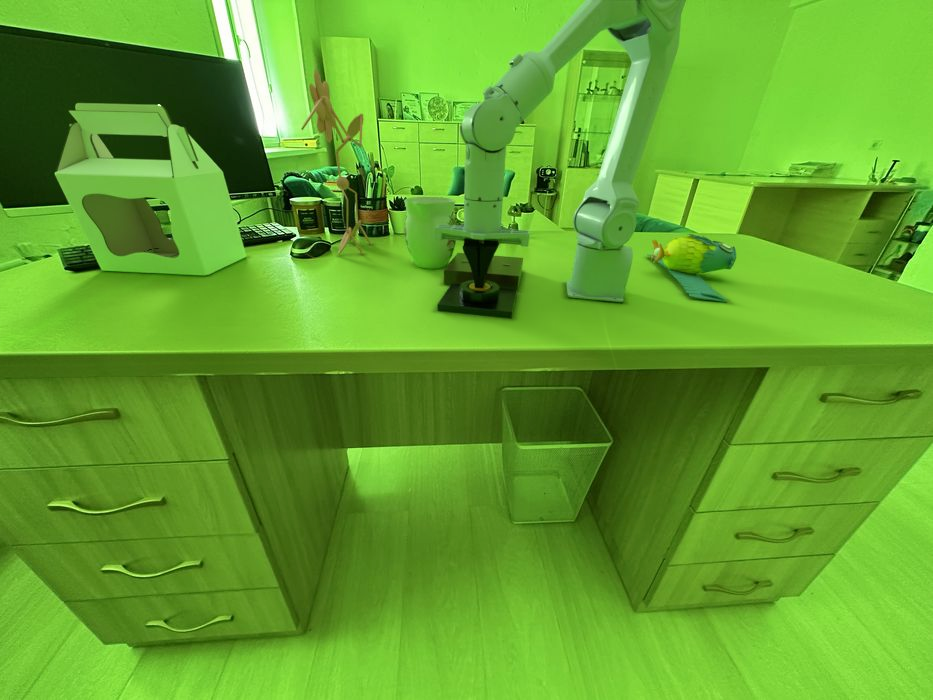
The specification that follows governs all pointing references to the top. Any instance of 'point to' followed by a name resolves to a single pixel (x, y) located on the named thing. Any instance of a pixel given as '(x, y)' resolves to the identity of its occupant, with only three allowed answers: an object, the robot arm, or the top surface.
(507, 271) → the panel
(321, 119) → the figurine
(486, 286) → the button
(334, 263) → the top surface
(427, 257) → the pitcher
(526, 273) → the top surface
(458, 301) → the button box
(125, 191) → the gable box
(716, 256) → the toy bird
